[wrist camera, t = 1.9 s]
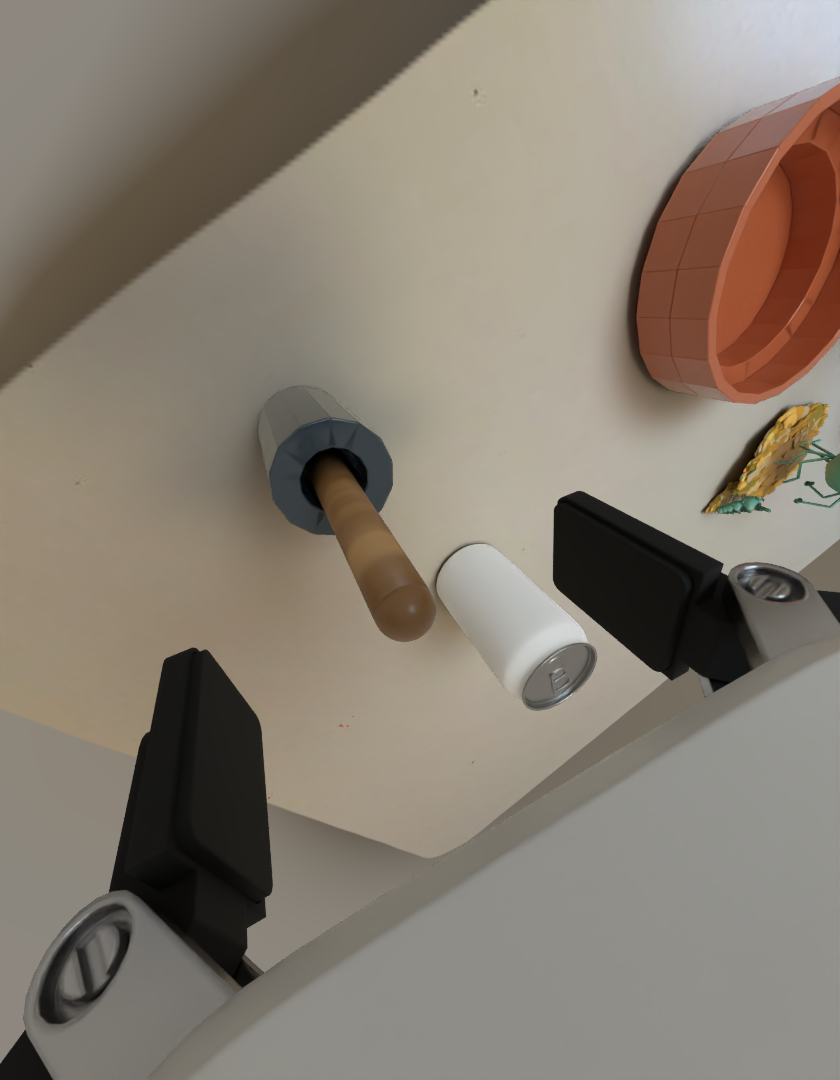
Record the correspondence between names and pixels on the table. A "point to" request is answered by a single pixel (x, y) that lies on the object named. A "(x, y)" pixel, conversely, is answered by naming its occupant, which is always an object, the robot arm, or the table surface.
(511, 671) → the can
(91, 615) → the table surface
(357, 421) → the utensil pot
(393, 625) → the stick
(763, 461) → the insect on leaf figurine
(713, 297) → the bowl
